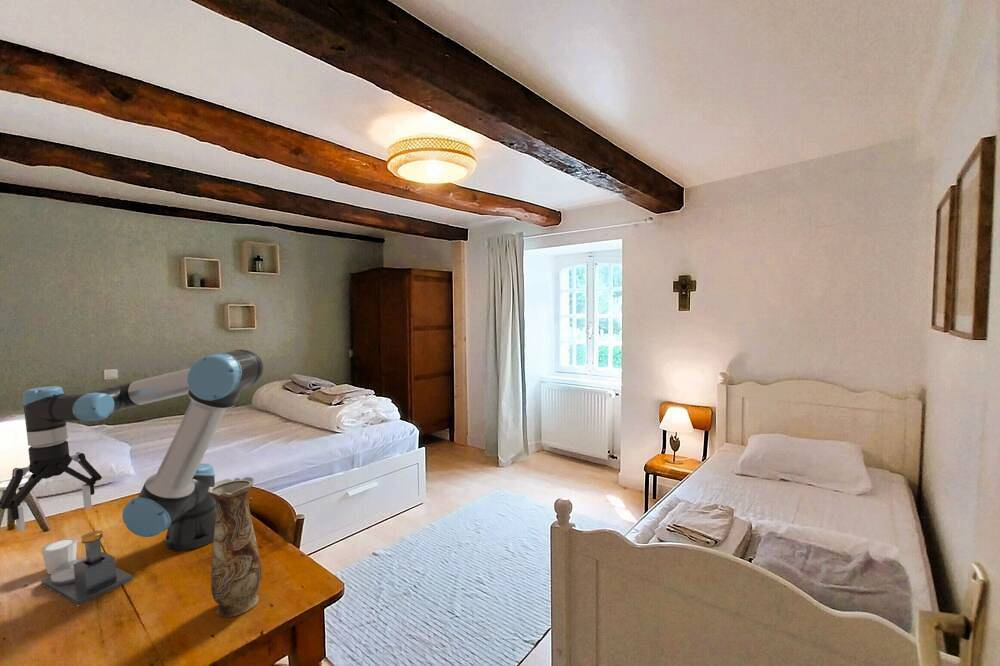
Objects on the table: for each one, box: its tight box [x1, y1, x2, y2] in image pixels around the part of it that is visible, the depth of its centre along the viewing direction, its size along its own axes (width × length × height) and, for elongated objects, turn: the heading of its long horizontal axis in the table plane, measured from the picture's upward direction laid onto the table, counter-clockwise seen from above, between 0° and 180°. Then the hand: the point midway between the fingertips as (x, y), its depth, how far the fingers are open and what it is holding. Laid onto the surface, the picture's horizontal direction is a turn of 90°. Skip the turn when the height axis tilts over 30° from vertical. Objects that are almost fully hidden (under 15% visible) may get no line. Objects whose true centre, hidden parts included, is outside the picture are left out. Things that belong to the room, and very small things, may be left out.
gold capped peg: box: [80, 530, 104, 566], centre depth 111 cm, size 4×4×8 cm
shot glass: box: [41, 537, 78, 575], centre depth 119 cm, size 7×7×7 cm
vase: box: [207, 476, 262, 618], centre depth 103 cm, size 10×11×30 cm
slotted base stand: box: [40, 551, 133, 606], centre depth 113 cm, size 20×11×7 cm, turn 65°
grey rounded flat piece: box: [50, 556, 86, 585], centre depth 115 cm, size 10×10×2 cm
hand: (56, 518), depth 119 cm, fingers open, 13 cm apart
